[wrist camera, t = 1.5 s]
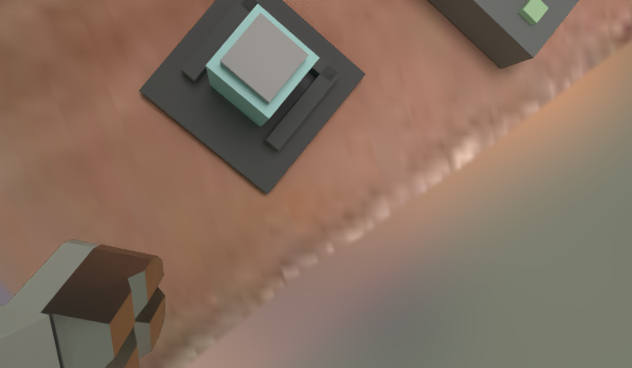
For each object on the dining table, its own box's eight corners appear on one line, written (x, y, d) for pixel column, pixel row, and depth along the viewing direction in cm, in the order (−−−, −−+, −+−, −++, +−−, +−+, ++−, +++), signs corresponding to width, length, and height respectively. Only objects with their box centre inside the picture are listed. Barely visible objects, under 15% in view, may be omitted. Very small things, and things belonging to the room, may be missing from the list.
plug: (210, 85, 33) (204, 61, 25) (251, 36, 33) (258, -3, 25) (260, 127, 33) (270, 117, 26) (300, 78, 34) (323, 53, 26)
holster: (141, 92, 33) (134, 87, 31) (243, -28, 34) (245, -43, 31) (266, 193, 35) (269, 196, 32) (361, 76, 35) (371, 70, 33)
